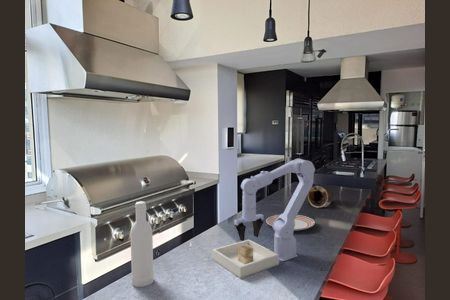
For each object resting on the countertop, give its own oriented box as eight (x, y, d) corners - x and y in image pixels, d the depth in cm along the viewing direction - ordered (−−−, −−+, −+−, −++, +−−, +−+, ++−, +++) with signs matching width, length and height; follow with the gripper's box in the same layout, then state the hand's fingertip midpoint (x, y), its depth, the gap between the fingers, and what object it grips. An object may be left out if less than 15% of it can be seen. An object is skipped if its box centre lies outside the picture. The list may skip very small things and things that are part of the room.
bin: (248, 248, 141) (248, 239, 140) (279, 264, 124) (279, 254, 124) (212, 259, 130) (212, 249, 129) (240, 278, 113) (240, 267, 113)
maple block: (246, 257, 130) (246, 244, 129) (253, 261, 126) (253, 247, 125) (238, 260, 127) (238, 246, 127) (244, 264, 123) (244, 250, 123)
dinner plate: (259, 229, 167) (259, 223, 167) (274, 216, 192) (274, 211, 191) (308, 237, 155) (309, 231, 154) (319, 222, 179) (319, 217, 179)
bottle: (154, 275, 116) (152, 199, 114) (153, 286, 108) (151, 204, 106) (133, 277, 115) (130, 200, 112) (130, 288, 107) (127, 205, 104)
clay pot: (338, 186, 226) (327, 185, 206) (339, 206, 223) (328, 207, 203) (318, 186, 234) (306, 185, 214) (319, 206, 232) (307, 207, 212)
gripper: (256, 202, 135) (256, 232, 136) (229, 207, 127) (229, 239, 128) (266, 206, 129) (266, 236, 130) (239, 211, 121) (239, 244, 122)
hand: (249, 238), depth 129 cm, fingers open, 7 cm apart
